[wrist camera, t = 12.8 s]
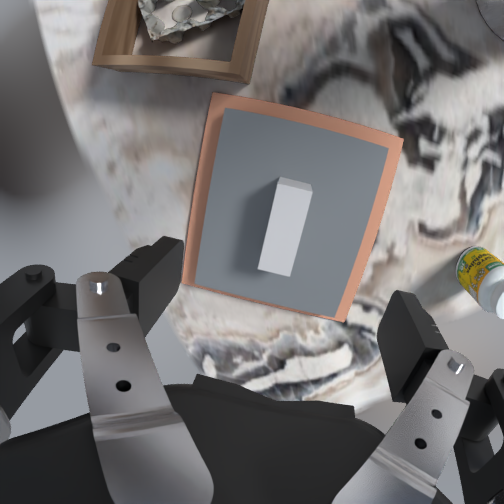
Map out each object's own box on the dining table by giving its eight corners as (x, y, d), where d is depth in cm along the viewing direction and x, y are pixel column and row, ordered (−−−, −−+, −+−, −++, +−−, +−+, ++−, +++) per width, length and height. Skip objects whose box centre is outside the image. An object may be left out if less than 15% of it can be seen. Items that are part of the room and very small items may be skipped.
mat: (402, 138, 29) (403, 139, 29) (343, 320, 38) (344, 322, 37) (213, 92, 30) (212, 92, 30) (182, 281, 39) (181, 283, 38)
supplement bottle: (462, 292, 34) (496, 334, 25) (448, 261, 33) (484, 300, 24) (493, 268, 33) (532, 305, 24) (480, 236, 31) (523, 268, 23)
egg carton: (162, 52, 29) (146, 45, 26) (145, 3, 27) (129, -7, 23) (254, 15, 27) (248, 2, 23) (231, -34, 25) (223, -50, 21)
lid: (383, 147, 30) (401, 151, 24) (332, 308, 37) (337, 338, 31) (229, 108, 30) (214, 104, 25) (199, 276, 38) (183, 301, 32)
